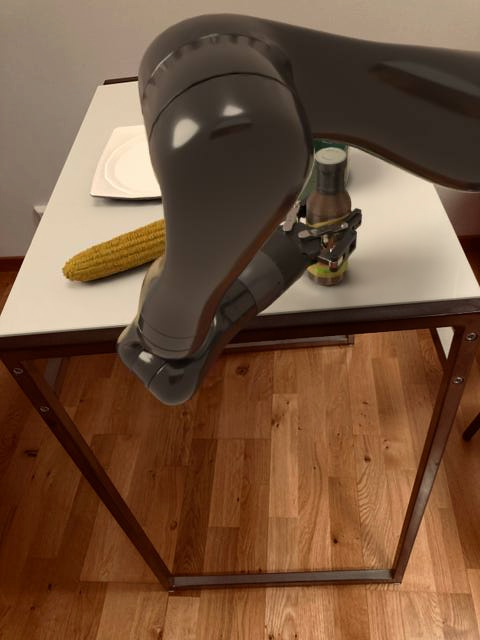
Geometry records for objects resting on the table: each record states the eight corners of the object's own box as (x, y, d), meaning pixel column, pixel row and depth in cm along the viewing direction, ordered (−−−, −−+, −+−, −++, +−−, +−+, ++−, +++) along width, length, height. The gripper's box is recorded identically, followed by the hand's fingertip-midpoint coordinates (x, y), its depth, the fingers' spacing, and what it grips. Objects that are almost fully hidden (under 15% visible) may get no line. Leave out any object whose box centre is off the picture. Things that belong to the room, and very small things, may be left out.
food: (184, 234, 88) (176, 205, 84) (194, 252, 85) (187, 223, 80) (66, 277, 85) (52, 249, 80) (72, 298, 81) (58, 270, 77)
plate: (238, 122, 113) (236, 111, 111) (234, 198, 94) (232, 185, 92) (114, 136, 116) (110, 125, 114) (86, 211, 97) (81, 200, 95)
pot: (353, 159, 97) (355, 125, 92) (341, 203, 89) (342, 168, 84) (281, 156, 101) (279, 122, 96) (263, 197, 93) (259, 163, 88)
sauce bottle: (319, 293, 75) (318, 175, 60) (298, 269, 79) (292, 153, 64) (356, 277, 76) (364, 158, 61) (334, 254, 80) (336, 137, 65)
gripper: (305, 274, 57) (386, 199, 64) (213, 230, 64) (295, 167, 71) (307, 319, 62) (381, 245, 69) (222, 273, 70) (297, 211, 77)
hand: (337, 206), depth 70 cm, fingers closed on sauce bottle, 6 cm apart
